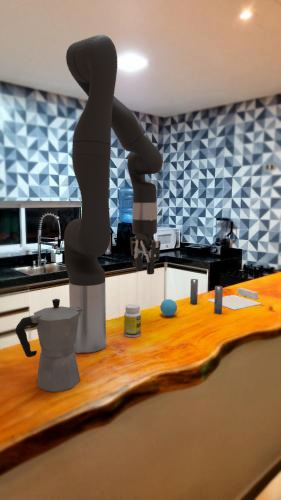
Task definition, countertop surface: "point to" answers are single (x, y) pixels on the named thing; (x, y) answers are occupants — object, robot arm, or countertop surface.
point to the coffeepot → (54, 345)
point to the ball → (168, 307)
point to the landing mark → (236, 302)
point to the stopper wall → (247, 293)
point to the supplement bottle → (132, 320)
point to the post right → (218, 300)
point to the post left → (194, 291)
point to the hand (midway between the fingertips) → (144, 272)
